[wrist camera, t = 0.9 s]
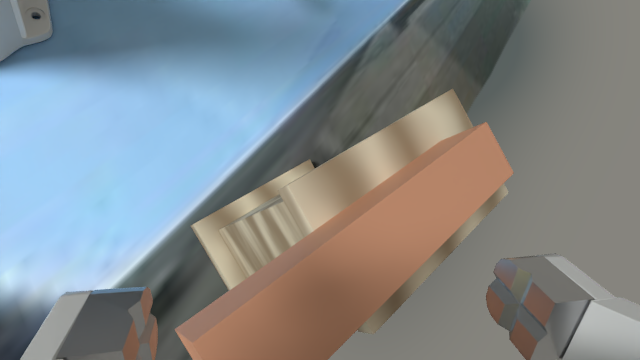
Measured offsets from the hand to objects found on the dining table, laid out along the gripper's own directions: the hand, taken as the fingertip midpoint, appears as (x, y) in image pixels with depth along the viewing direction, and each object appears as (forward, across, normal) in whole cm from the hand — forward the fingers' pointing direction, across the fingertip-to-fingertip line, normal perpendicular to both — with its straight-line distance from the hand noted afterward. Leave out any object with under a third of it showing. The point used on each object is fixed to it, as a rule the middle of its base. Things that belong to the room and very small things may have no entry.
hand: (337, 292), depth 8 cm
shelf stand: (+34, -1, +21) cm, 40 cm away
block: (+11, -5, +7) cm, 14 cm away
